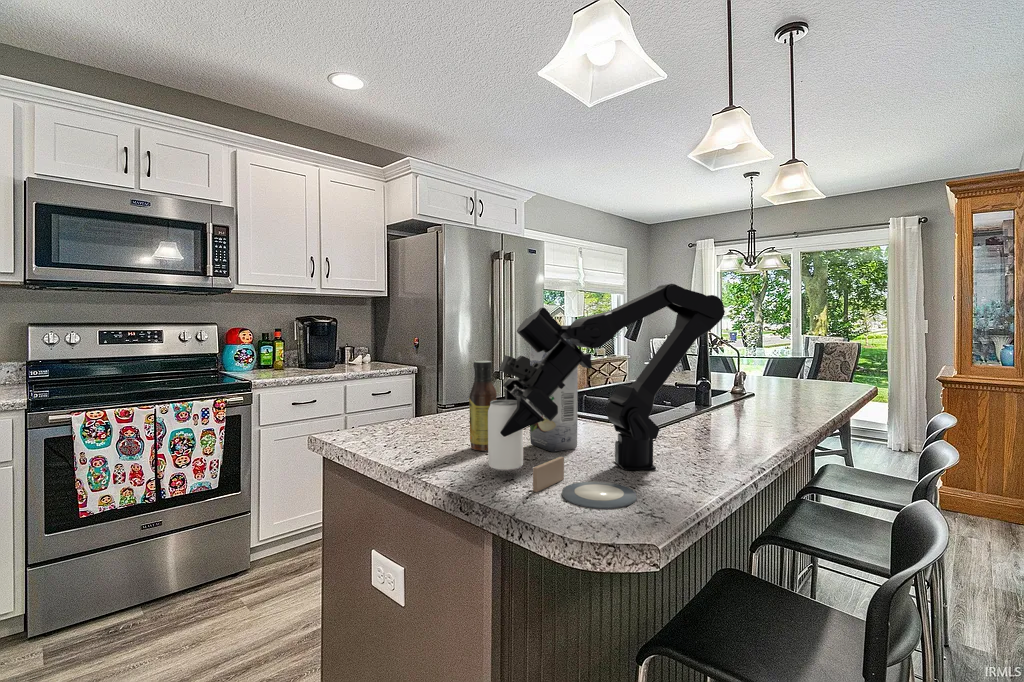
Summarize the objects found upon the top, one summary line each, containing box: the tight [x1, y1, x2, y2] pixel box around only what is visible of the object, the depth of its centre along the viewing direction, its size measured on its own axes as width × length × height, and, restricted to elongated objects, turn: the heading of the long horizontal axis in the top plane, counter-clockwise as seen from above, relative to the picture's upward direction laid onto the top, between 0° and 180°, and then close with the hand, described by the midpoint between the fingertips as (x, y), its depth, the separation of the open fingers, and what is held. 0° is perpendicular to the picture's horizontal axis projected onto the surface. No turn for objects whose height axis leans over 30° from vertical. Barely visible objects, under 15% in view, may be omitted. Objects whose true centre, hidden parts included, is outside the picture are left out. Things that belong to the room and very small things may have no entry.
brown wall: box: [532, 456, 565, 493], centre depth 91 cm, size 9×1×4 cm, turn 144°
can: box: [487, 399, 524, 472], centre depth 97 cm, size 6×6×12 cm
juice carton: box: [529, 338, 579, 453], centre depth 119 cm, size 9×10×27 cm
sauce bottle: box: [468, 360, 497, 452], centre depth 117 cm, size 6×6×20 cm
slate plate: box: [561, 480, 637, 509], centre depth 86 cm, size 12×12×1 cm
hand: (497, 431), depth 96 cm, fingers closed on can, 6 cm apart
